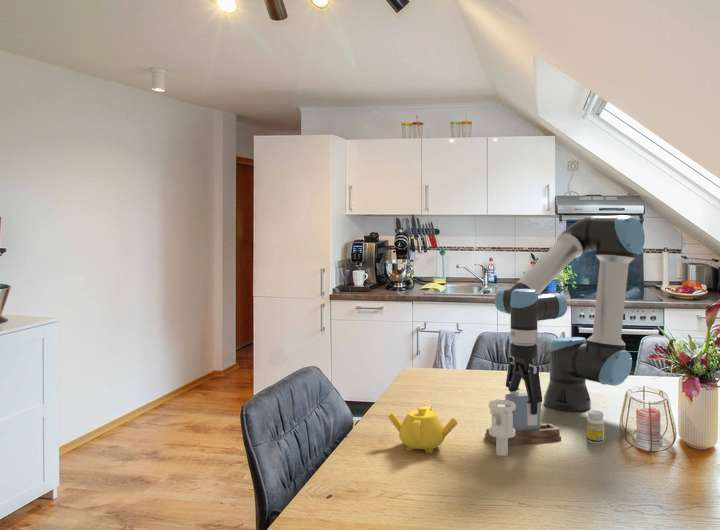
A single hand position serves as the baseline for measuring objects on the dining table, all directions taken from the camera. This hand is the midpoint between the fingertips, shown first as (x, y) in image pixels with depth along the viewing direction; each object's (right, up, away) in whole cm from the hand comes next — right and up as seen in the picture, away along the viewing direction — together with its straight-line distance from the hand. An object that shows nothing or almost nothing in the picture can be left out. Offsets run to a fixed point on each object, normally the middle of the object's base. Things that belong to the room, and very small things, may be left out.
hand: (522, 418), depth 179 cm
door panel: (0, -5, 0) cm, 5 cm away
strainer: (-9, -7, -11) cm, 16 cm away
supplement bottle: (+20, -6, -2) cm, 21 cm away
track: (0, -6, 0) cm, 6 cm away
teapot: (-30, -7, -6) cm, 31 cm away
